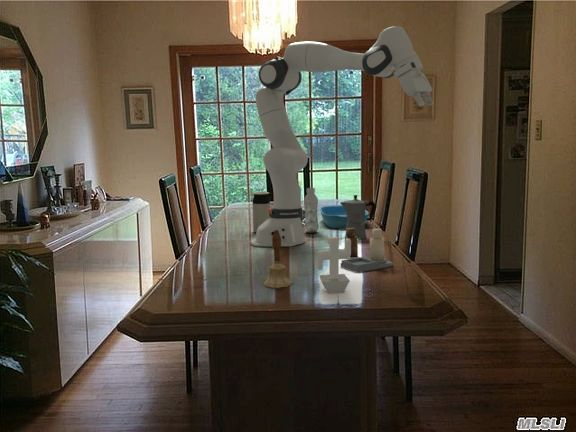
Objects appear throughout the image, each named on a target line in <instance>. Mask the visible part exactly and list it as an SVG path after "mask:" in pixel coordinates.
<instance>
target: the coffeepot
mask: <svg viewBox="0 0 576 432" xmlns="http://www.w3.org/2000/svg"><path fill="white" fill-rule="evenodd" d="M339 205H342V206H343V207H344V209H345V211H346V215H347V218H348V222H347V226H346V228H345V234H344V237H345V236H347V228H355V236H357V237H358V240H361V239H362V240H364V239H366V238H367V233H366V227H365V226H366V225H364V222H363V218H364V216H365V210H366V207H368V206H372V207H371V209H370V213H369V217H368V218H367V221H372V220H373V218H374V214H375V212H376V209H377V204H376V203H375V201H374V200H361V199H358V195H356V194H354V195H353V199H349V200H346V201H341V202H340V204H339Z"/></svg>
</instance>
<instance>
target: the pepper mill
mask: <svg viewBox="0 0 576 432" xmlns="http://www.w3.org/2000/svg"><path fill="white" fill-rule="evenodd" d="M347 238H348V239H350V240H351V256H350V258H349V259H353V258H359V250H358V249H359V247H358V245H359V243H358V242H359V241H358V240H359V239H358V237H357V236H355V228H347V236H345V235H344V240H345V239H347Z"/></svg>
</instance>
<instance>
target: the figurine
mask: <svg viewBox="0 0 576 432" xmlns="http://www.w3.org/2000/svg"><path fill="white" fill-rule="evenodd" d="M327 241H328V247H329V248H328V249H319V250H317V252H316V269H317V270H319V271H322V270H323V268H324V267H323V266H324V261H328V260H329V262H328V263H329V264H328V265H329V266H328V267H329V273H328V274H319V275H318V277H319V278H320V281H321V283H322V286H323V288H324V290H325V289H326V290H325V291H326V293H327V294H342V293H344V292H345V291H346V289H347V287H348V285H349V284H350V281H351V280H350V279H349V278H348V276H347V275H346V274H345V273H339V266H340V265H339V260H347V259H351V258H350V256H351V240H350V239H348V238H347V239H345V238H344V248H339V245H340V237H337V236H332V237H328V240H327Z"/></svg>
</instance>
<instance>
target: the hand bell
mask: <svg viewBox="0 0 576 432" xmlns="http://www.w3.org/2000/svg"><path fill="white" fill-rule="evenodd" d="M272 245H273V246H272V248H273V253H274V263H273V264H272V265H270V266H269V271H268V272H269V273H268V276H267V279H266V280H264V282H263V286H264V287H266V288H269V287H271V288H270V289H280V288H279V287H285V288H288V286H289V287H291V286H292V285H293V283H292V280H290V278H289V277H288V274H287V270H286V266H285V265H283V264H282V263H281V248H282V246H281V237H280V234H279V231H278V230H274V234H273V237H272ZM290 285H291V286H290Z"/></svg>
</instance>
